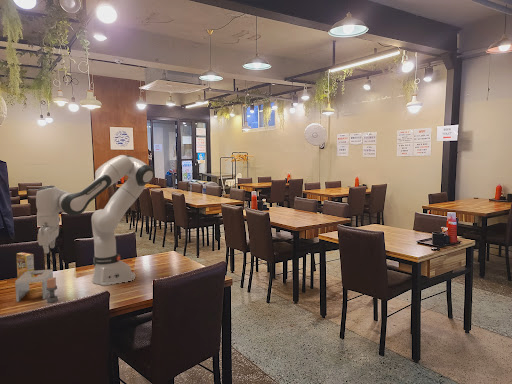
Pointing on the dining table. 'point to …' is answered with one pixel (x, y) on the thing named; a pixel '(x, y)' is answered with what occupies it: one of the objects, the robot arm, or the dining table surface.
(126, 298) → the dining table surface
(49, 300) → the pink-topped grey pedestal
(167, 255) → the dining table surface
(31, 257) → the candy box
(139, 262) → the dining table surface
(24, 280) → the grey bridge stand
